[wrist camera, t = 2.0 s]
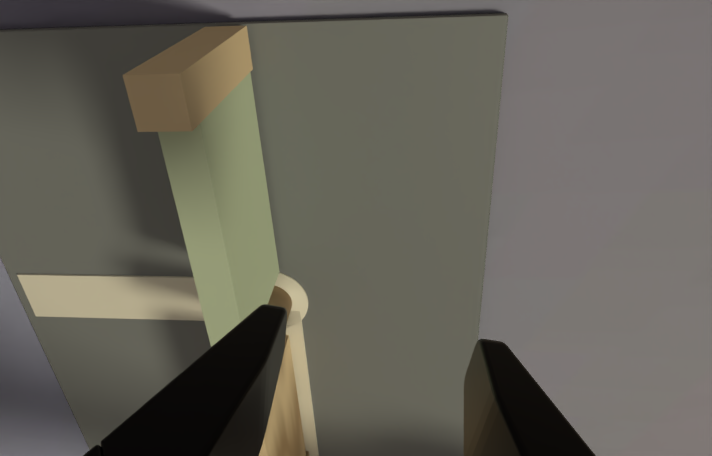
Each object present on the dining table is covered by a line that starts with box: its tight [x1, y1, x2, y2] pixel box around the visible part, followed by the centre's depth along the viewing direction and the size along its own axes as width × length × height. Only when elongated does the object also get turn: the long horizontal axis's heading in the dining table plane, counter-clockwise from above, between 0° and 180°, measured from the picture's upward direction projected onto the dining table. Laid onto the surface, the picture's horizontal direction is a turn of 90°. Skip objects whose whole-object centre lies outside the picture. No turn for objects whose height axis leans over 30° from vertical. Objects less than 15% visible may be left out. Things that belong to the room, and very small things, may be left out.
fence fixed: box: [259, 286, 309, 456], centre depth 24 cm, size 12×2×6 cm, turn 3°
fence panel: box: [123, 26, 279, 347], centre depth 17 cm, size 10×1×6 cm, turn 3°
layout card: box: [0, 13, 508, 456], centre depth 24 cm, size 23×21×1 cm
